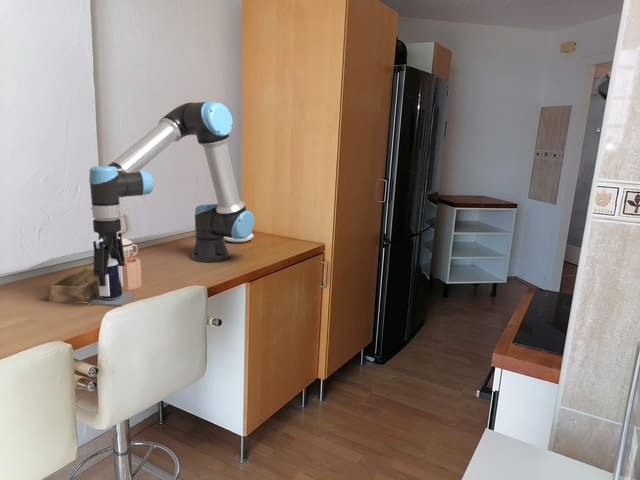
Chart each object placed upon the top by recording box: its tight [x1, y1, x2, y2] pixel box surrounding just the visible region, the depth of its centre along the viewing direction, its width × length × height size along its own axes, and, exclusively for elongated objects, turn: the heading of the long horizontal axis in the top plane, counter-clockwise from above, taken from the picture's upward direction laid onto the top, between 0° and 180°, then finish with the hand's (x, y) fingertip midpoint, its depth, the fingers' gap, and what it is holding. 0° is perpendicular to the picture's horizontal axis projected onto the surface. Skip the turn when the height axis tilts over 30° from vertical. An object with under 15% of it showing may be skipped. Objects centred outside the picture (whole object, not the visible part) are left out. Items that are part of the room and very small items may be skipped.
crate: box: [47, 267, 100, 303], centre depth 151 cm, size 12×21×5 cm, turn 179°
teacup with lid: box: [109, 235, 139, 259], centre depth 184 cm, size 12×9×12 cm
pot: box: [122, 257, 142, 291], centre depth 157 cm, size 8×8×9 cm
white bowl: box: [224, 232, 254, 243], centre depth 232 cm, size 16×16×7 cm
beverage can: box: [102, 258, 123, 300], centre depth 143 cm, size 6×6×12 cm
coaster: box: [87, 292, 136, 307], centre depth 144 cm, size 10×10×1 cm
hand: (111, 290), depth 144 cm, fingers open, 8 cm apart
